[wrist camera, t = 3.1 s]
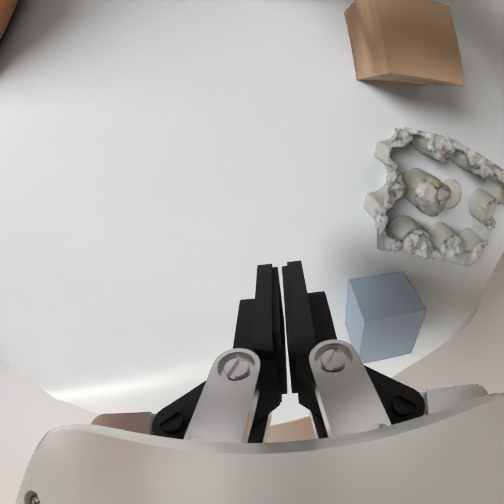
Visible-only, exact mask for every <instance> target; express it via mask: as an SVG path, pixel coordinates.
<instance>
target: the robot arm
mask: <svg viewBox="0 0 504 504" xmlns="http://www.w3.org/2000/svg"><path fill="white" fill-rule="evenodd" d="M282 275H283V288H284V303H285V318H286V334H287V346H288V356H289V366H290V376H291V387H292V393H298V398H299V403H300V404H301V405H303V406H304V407H306V408H307V409H309V414H310V417H311V421H312V425H313V429H314V433H315V436H316V439H314V440H304V441H293V442H278V443H266V441H267V436H268V431H269V426H270V422H271V414H272V411H273V410H274V409H275V408H276V407H278V406H279V405H280V402H282V394H287V371H286V348H285V328H284V317H283V308H282V299H281V291H280V283H279V274H278V267H272V264H266V265H258V266H257V280H256V294H255V299H246V300H241V301H240V304H239V311H238V318H237V325H236V332H235V338H234V345H233V349H231V350H228V351H226V352H224V353H222V354H221V355H219V356H218V357H217V358H216V360H215V361H214V363H213V365H212V368H211V370H210V373H209V375H208V378H207V380H206V381H205V382H203V383H202V384H200V385H199V386H197V387H196V388H194V389H193V390H191V391H190V392H188V393H187V394H185V395H184V396H182V397H181V398H179V399H177V400H176V401H174V402H173V403H171V404H170V405H168V406H166V407H165V408H163V409H162V410H161V411H159V412H158V413H157V414H152V413H151V412H138V413H117V414H102V415H99V416H98V417H96V418H95V419H94V420H93V422H92V424H91V425H90V424H75V425H65V426H61V427H57V428H54V429H52V430H50V431H49V432H47V433H46V434H45V435H44V437H43V438H42V439H41V441H40V442H39V444H38V446H37V447H36V449H35V451H34V453H33V455H32V458H31V460H30V462H29V464H28V467H27V469H26V472H25V475H24V477H23V480H22V483H21V487H20V490H19V493H18V497H17V501H16V504H504V393H495V394H489V395H488V393H487V391H486V390H485V389H484V388H483V387H482V386H480V385H478V384H469V385H462V386H454V387H446V388H437V389H427V390H426V391H425V392H423V393H419V392H417V391H416V390H414V389H413V388H411V387H408V386H406V385H404V384H402V383H400V382H397V381H396V380H393V379H391V378H389V377H387V376H385V375H383V374H381V373H379V372H377V371H375V370H373V369H371V368H369V367H367V366H365V365H363V363H362V361H361V359H360V357H359V355H358V353H357V351H356V349H355V348H354V347H353V346H352V345H351V344H349V343H348V342H345V341H342V340H337V337H336V333H335V329H334V325H333V321H332V317H331V313H330V309H329V306H328V302H327V298H326V294H325V292H324V291H323V292H314V293H307V289H306V284H305V279H304V274H303V269H302V264H301V261H293V262H287V266H282Z"/></svg>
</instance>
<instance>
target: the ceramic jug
mask: <svg viewBox="0 0 504 504" xmlns="http://www.w3.org/2000/svg"><path fill="white" fill-rule="evenodd" d="M17 2H18V0H0V40H1V38H2V36H3V34H4V32H5V30H6V28H7V26H8V23H9V21H10V19H11V17H12V14H13V12H14V9H15V7H16V4H17Z"/></svg>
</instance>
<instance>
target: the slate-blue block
mask: <svg viewBox="0 0 504 504" xmlns="http://www.w3.org/2000/svg"><path fill="white" fill-rule="evenodd" d="M425 313H426V308H425V306H424V305H423V303H422V301H421V300H420V298H419V296H418V295H417V293H416V291H415V290H414V288H413V287H412V285H411V284H410V282H409V280H408V279H407V277H406V276H405V274H404V273H403V272H398V273H391V274H385V275H378V276H371V277H364V278H357V279H349V282H348V297H347V309H346V320H345V324H346V327H347V331H348V334H349V338H350V342H351V345H352V346H353V347H354V348H355V349H356V351H357V353H358V355H359V357H360V359H361V361H362V363H368V362H373V361H378V360H383V359H388V358H392V357H397V356H401V355H405V354H409V353H411V352H412V350H413V347H414V345H415V342H416V339H417V337H418V334H419V331H420V328H421V325H422V322H423V319H424V316H425Z"/></svg>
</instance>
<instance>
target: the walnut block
mask: <svg viewBox="0 0 504 504" xmlns="http://www.w3.org/2000/svg"><path fill="white" fill-rule="evenodd" d="M344 15H345V19H346V23H347V28H348V32H349V37H350V42H351V48H352V53H353V59H354V65H355V71H356V78H357V80H374V81H389V82H400V83H409V84H417V85H457V86H464V79H463V72H462V65H461V58H460V53H459V47H458V42H457V38H456V33H455V29H454V25H453V21H452V17H451V14H450V10H449V7H447V6H444V5H441V4H438V3H435V2H432V1H429V0H356V1H355V2H354V3H353V4H352V5H351V6H350V7H349V8H348V9H347V10H346V11H345V12H344Z"/></svg>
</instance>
